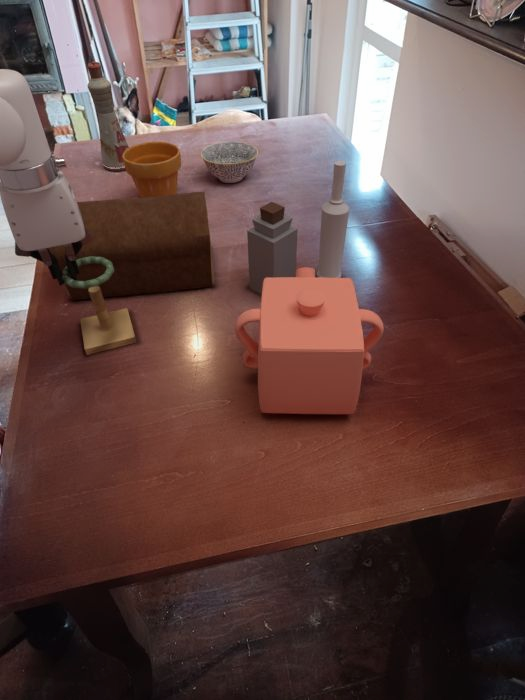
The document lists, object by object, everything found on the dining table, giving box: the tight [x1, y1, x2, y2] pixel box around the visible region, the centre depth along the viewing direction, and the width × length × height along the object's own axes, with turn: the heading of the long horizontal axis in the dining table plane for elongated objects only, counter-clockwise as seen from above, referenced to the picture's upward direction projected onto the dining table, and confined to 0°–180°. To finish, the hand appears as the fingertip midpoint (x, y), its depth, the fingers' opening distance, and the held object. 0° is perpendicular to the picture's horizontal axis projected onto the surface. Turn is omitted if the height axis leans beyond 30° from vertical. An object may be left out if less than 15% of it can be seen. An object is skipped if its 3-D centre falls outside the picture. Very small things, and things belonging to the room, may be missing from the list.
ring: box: [62, 256, 114, 289], centre depth 80 cm, size 8×8×1 cm
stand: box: [79, 286, 137, 356], centre depth 86 cm, size 9×9×10 cm
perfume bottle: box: [246, 201, 298, 296], centre depth 93 cm, size 7×7×18 cm
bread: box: [49, 191, 216, 301], centre depth 98 cm, size 18×30×16 cm, turn 98°
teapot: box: [234, 266, 385, 415], centre depth 77 cm, size 25×23×18 cm
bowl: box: [199, 141, 259, 184], centre depth 135 cm, size 16×16×8 cm
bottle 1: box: [87, 61, 130, 172], centre depth 135 cm, size 9×9×28 cm
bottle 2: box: [316, 160, 350, 278], centre depth 92 cm, size 5×5×25 cm
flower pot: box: [122, 141, 182, 198], centre depth 123 cm, size 14×14×13 cm
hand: (67, 278), depth 80 cm, fingers closed on ring, 1 cm apart
